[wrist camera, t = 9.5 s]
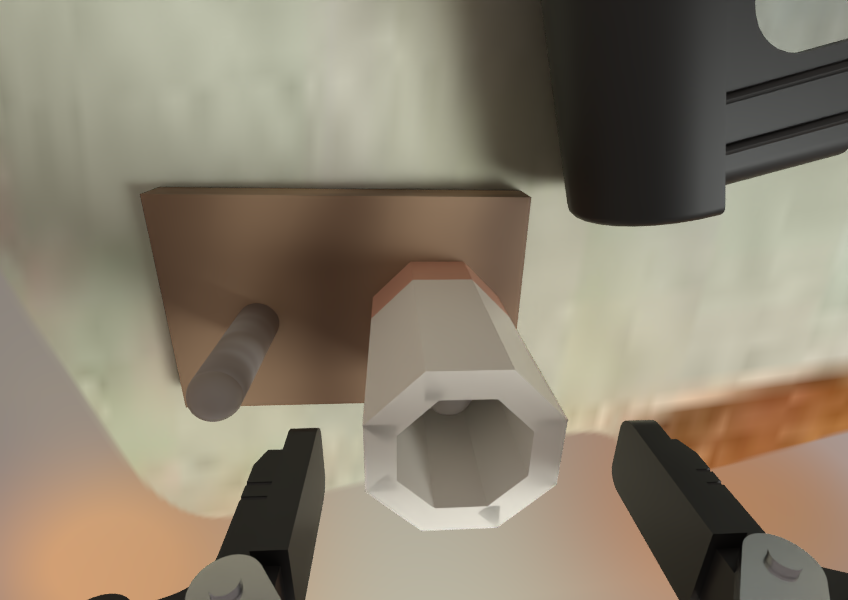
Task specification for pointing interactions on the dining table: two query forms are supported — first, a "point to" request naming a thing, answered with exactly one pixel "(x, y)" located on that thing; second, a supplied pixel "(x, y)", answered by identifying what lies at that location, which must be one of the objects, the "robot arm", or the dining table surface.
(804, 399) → the dining table surface
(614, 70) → the end cap
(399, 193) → the pin board
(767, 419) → the dining table surface
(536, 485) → the sleeve
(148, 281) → the dining table surface
